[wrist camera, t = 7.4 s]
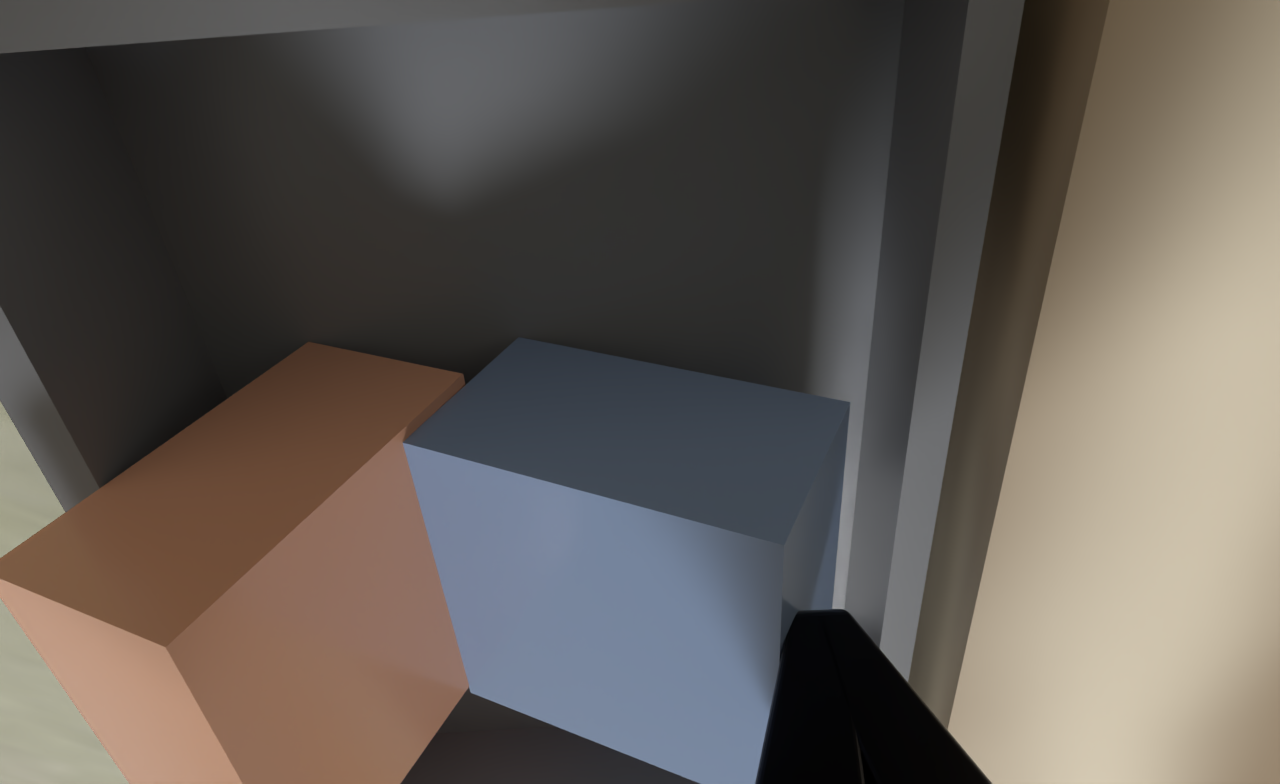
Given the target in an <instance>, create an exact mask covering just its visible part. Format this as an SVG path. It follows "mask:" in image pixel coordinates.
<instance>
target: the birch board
mask: <svg viewBox="0 0 1280 784" xmlns="http://www.w3.org/2000/svg"><path fill="white" fill-rule="evenodd" d="M908 683H909V684H910V686H911V687H912V688H913V689H914V690H915V692H916V693H917V694H918V695H919V696H920V698H921V699H922V700H923V701H924V702H925V704H926V705H927V706H928V707H929V708H930V710H931V711H932V712H933V713H934V714H935V716H936V717H937V718H938V719H939V720H940V721H941V723H942V724H943V725H944V726H945V727H946V729H947V730H948V731H949V732H950V733H951V735H952V736H953V737H954V738H955V739H956V741H957V742H958V743H959V744H960V745H961V747H962V748H963V749H964V750H965V751H966V753H967V754H968V755H969V756H970V757H971V759H972V760H973V761H974V762H975V763H976V765H977V766H978V767H979V768H980V769H981V771H982V772H983V773H984V774H985V775H986V777H987V778H988V779H989V780H990V781H991V782H992V784H1280V0H1025V3H1024V8H1023V14H1022V20H1021V26H1020V32H1019V38H1018V43H1017V49H1016V55H1015V61H1014V67H1013V73H1012V78H1011V84H1010V90H1009V96H1008V102H1007V108H1006V113H1005V119H1004V125H1003V131H1002V137H1001V143H1000V149H999V154H998V160H997V166H996V172H995V178H994V184H993V189H992V195H991V201H990V207H989V213H988V219H987V224H986V230H985V236H984V242H983V248H982V254H981V259H980V265H979V271H978V277H977V283H976V289H975V294H974V300H973V306H972V312H971V318H970V324H969V329H968V335H967V341H966V347H965V353H964V359H963V364H962V370H961V376H960V382H959V388H958V394H957V399H956V405H955V411H954V417H953V423H952V429H951V434H950V440H949V446H948V452H947V458H946V464H945V470H944V475H943V481H942V487H941V493H940V499H939V505H938V510H937V516H936V522H935V528H934V534H933V540H932V545H931V551H930V557H929V563H928V569H927V575H926V580H925V586H924V592H923V598H922V604H921V610H920V615H919V621H918V627H917V633H916V639H915V645H914V650H913V656H912V662H911V668H910V674H909V680H908Z"/></svg>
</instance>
